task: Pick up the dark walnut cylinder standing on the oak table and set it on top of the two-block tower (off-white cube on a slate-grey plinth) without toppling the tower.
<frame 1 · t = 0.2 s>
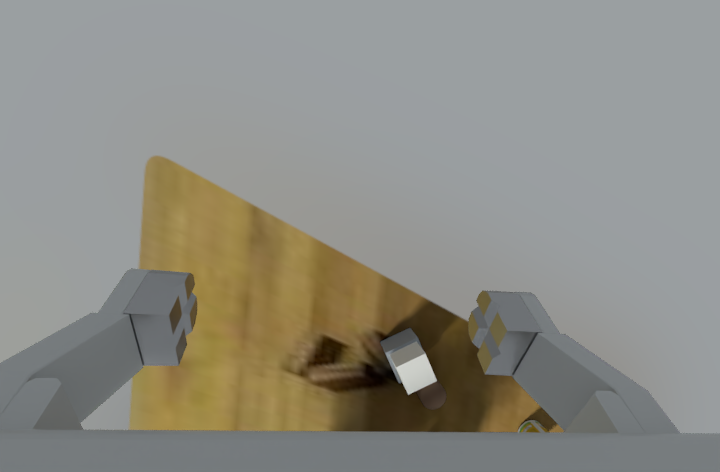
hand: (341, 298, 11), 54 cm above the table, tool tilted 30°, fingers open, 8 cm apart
supplement bottle: (528, 431, 74), on the table
walnut cylinder: (424, 382, 70), on the table
base block: (401, 348, 69), on the table, touching top block
top block: (408, 360, 64), point 5 cm above the table, touching base block
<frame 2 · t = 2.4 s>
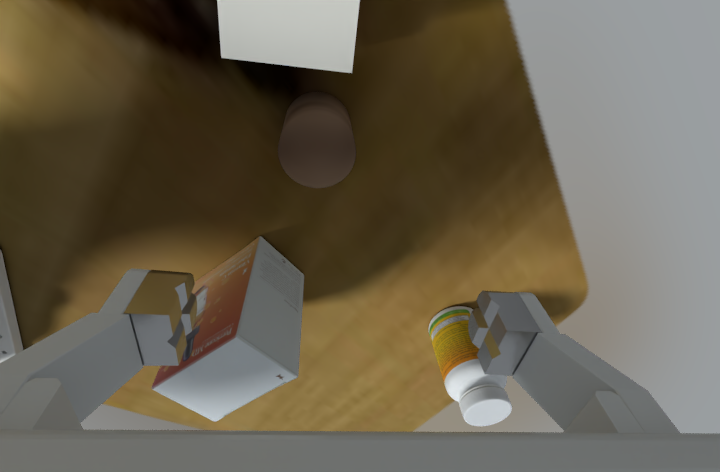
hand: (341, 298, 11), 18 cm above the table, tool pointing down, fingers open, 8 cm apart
small box: (250, 276, 33), on the table
supplement bottle: (453, 321, 39), on the table
walnut cylinder: (317, 125, 26), on the table
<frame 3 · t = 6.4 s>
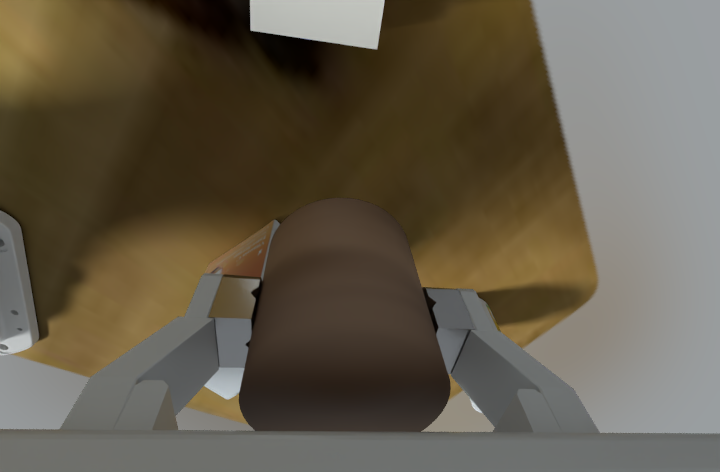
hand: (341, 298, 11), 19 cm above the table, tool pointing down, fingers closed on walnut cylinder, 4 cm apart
small box: (263, 259, 34), on the table
walnut cylinder: (339, 259, 12), point 17 cm above the table, touching gripper
when the fingers open (13 cm above the table, at t = 8.4 s): walnut cylinder drops 1 cm, resting on top block.
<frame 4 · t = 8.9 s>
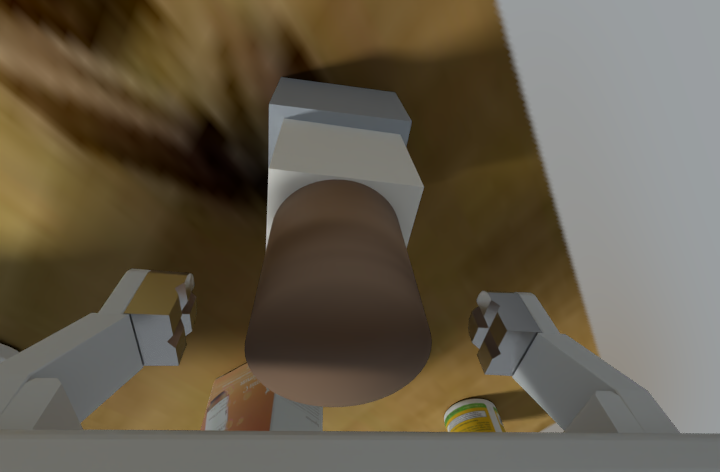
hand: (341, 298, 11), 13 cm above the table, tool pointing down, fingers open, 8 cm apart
small box: (269, 374, 33), on the table
supplement bottle: (468, 410, 39), on the table
walnut cylinder: (336, 237, 13), point 10 cm above the table, touching top block
base block: (333, 139, 22), on the table, touching top block
top block: (335, 179, 18), point 5 cm above the table, touching base block, walnut cylinder
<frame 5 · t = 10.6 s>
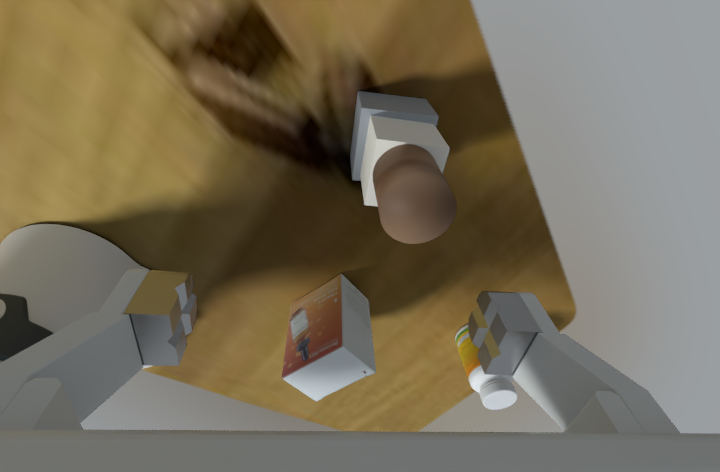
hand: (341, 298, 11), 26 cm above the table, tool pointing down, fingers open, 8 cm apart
small box: (329, 299, 47), on the table
supplement bottle: (473, 333, 52), on the table
walnut cylinder: (404, 175, 26), point 10 cm above the table, touching top block
base block: (386, 128, 35), on the table, touching top block
top block: (395, 150, 31), point 5 cm above the table, touching base block, walnut cylinder
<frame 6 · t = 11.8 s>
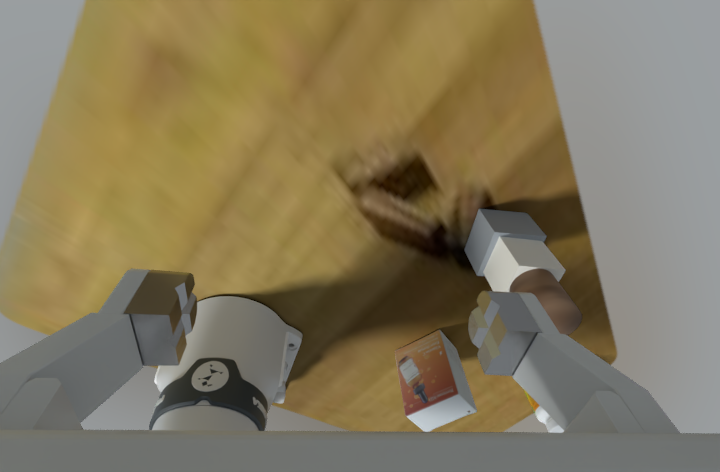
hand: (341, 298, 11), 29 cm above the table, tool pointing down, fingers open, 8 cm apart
small box: (424, 347, 58), on the table
supplement bottle: (533, 372, 63), on the table
walnut cylinder: (531, 286, 38), point 10 cm above the table, touching top block
base block: (494, 231, 46), on the table, touching top block
top block: (511, 256, 42), point 5 cm above the table, touching base block, walnut cylinder
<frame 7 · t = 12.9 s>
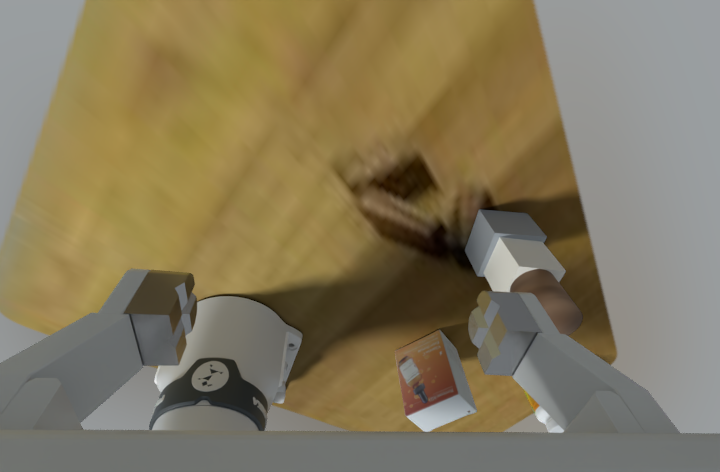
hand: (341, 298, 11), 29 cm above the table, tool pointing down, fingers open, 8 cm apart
small box: (424, 347, 58), on the table
supplement bottle: (533, 372, 63), on the table
walnut cylinder: (532, 286, 38), point 10 cm above the table, touching top block
base block: (494, 232, 46), on the table, touching top block
top block: (512, 257, 42), point 5 cm above the table, touching base block, walnut cylinder
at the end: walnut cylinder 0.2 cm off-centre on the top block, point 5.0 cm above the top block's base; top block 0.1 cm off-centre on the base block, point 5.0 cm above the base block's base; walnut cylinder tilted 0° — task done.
